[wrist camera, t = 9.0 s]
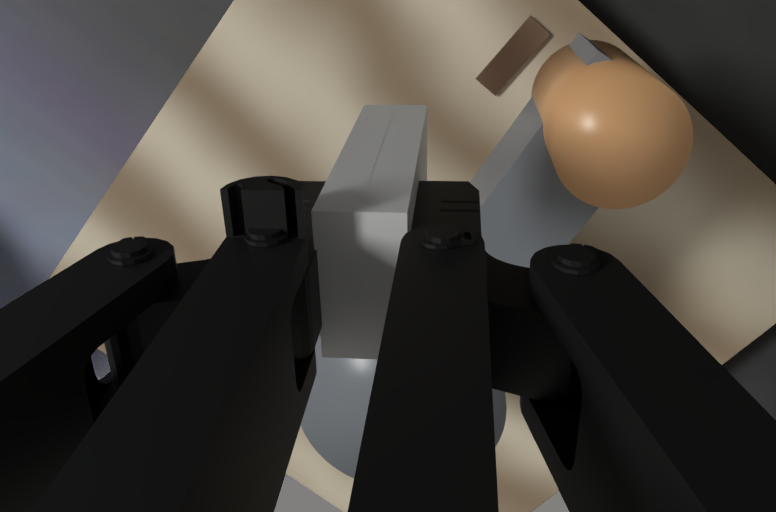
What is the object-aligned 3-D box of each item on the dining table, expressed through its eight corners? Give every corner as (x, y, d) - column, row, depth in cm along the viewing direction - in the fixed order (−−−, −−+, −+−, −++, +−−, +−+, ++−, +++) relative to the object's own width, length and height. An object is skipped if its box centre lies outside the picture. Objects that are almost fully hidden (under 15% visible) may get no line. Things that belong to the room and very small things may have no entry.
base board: (372, -190, 26) (358, -207, 22) (834, 240, 31) (883, 282, 28) (53, 285, 36) (7, 326, 32) (445, 549, 41) (443, 610, 38)
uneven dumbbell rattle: (722, 120, 25) (814, 189, 19) (461, 420, 32) (462, 548, 25) (495, -40, 24) (510, -24, 17) (270, 311, 30) (219, 418, 24)
